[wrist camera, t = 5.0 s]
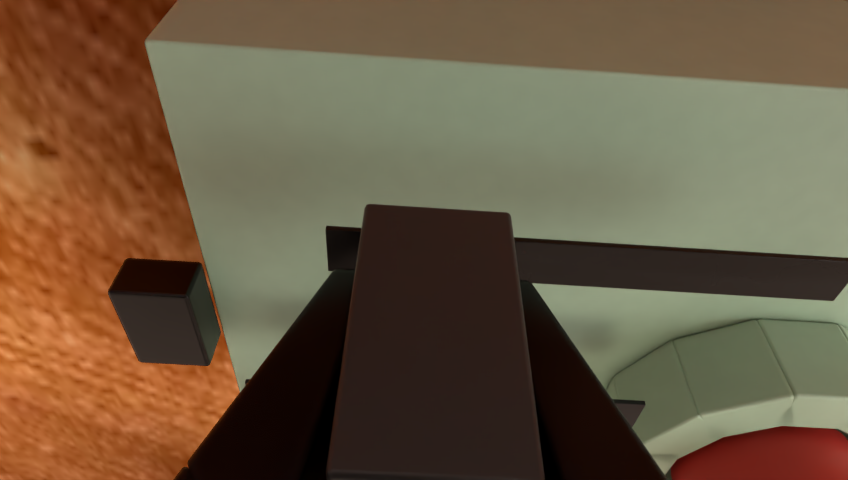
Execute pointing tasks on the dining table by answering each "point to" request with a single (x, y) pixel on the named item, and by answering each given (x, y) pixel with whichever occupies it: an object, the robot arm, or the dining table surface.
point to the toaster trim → (537, 263)
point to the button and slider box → (536, 170)
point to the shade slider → (435, 353)
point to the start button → (769, 456)
